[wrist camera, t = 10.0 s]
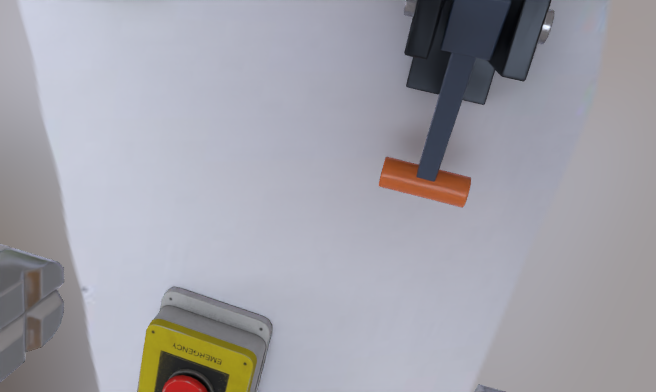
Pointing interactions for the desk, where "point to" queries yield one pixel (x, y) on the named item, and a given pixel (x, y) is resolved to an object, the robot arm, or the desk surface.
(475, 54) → the switch lever
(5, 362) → the robot arm
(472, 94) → the switch bracket
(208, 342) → the emergency button
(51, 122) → the desk surface
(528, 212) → the desk surface
